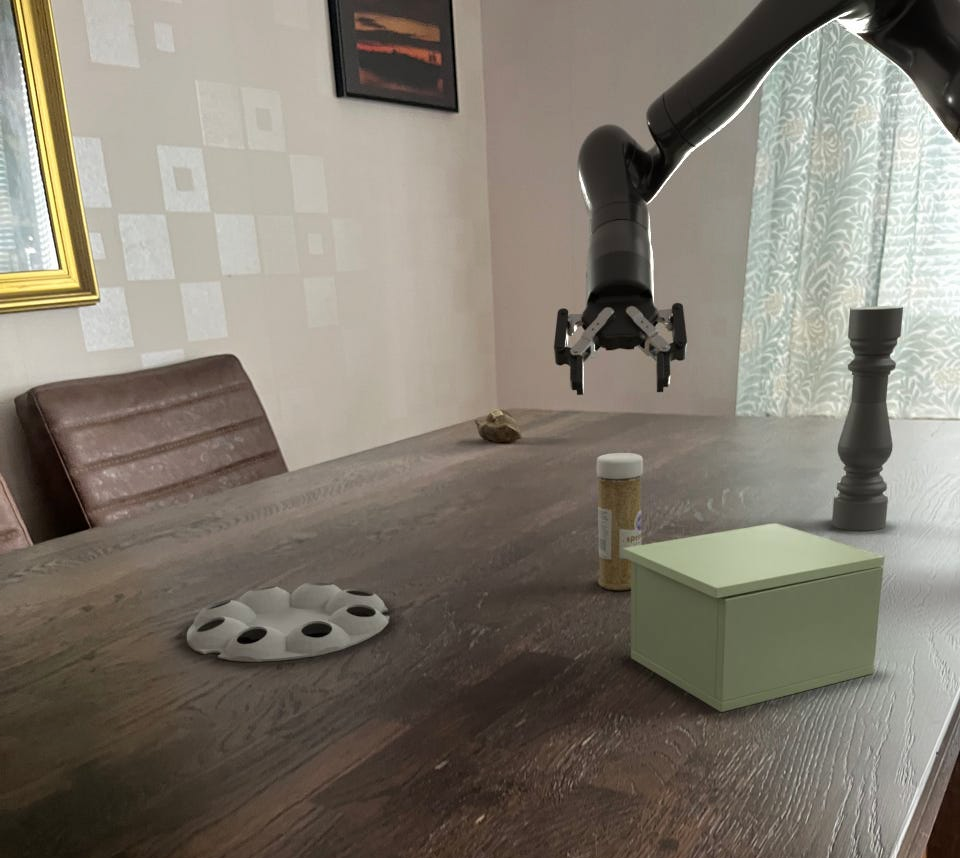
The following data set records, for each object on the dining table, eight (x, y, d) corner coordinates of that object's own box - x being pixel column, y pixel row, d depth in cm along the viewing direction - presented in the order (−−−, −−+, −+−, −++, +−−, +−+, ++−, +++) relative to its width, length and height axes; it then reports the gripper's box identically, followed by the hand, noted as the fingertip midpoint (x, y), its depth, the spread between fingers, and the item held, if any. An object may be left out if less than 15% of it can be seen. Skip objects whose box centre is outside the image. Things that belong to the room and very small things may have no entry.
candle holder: (880, 532, 117) (900, 308, 108) (825, 528, 120) (841, 310, 112) (890, 520, 122) (910, 305, 113) (838, 516, 125) (854, 306, 117)
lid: (715, 598, 70) (716, 588, 70) (622, 557, 81) (622, 547, 81) (883, 566, 76) (884, 556, 76) (775, 531, 87) (775, 522, 87)
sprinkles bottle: (641, 591, 101) (642, 459, 97) (596, 591, 102) (595, 460, 97) (642, 578, 106) (642, 451, 101) (598, 578, 106) (597, 452, 102)
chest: (721, 712, 74) (725, 599, 71) (630, 658, 85) (630, 558, 82) (873, 673, 79) (883, 566, 76) (770, 627, 90) (775, 532, 87)
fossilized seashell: (464, 427, 193) (487, 443, 185) (481, 397, 192) (505, 411, 184) (493, 443, 197) (517, 459, 190) (510, 413, 196) (534, 427, 188)
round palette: (424, 630, 94) (422, 610, 93) (219, 679, 85) (215, 657, 84) (344, 581, 110) (342, 564, 109) (164, 618, 101) (161, 599, 101)
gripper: (554, 251, 111) (551, 368, 104) (685, 244, 109) (690, 363, 103) (558, 300, 118) (555, 413, 111) (681, 294, 116) (685, 408, 109)
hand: (620, 389), depth 107 cm, fingers open, 8 cm apart
